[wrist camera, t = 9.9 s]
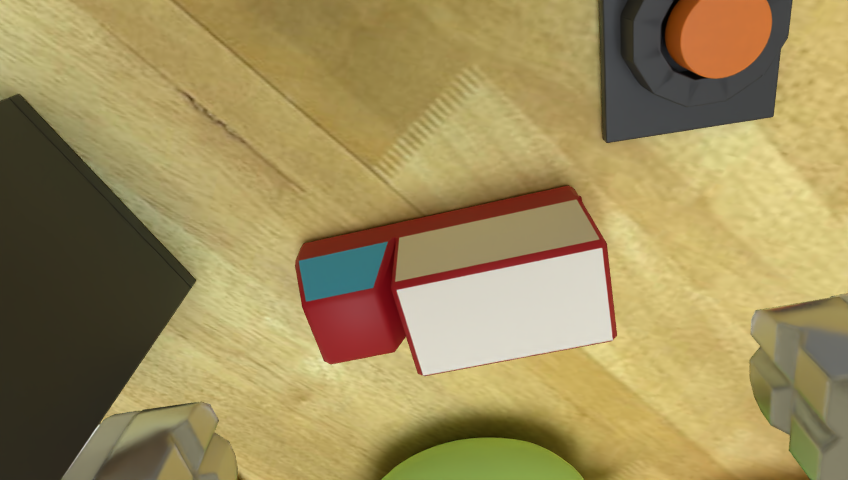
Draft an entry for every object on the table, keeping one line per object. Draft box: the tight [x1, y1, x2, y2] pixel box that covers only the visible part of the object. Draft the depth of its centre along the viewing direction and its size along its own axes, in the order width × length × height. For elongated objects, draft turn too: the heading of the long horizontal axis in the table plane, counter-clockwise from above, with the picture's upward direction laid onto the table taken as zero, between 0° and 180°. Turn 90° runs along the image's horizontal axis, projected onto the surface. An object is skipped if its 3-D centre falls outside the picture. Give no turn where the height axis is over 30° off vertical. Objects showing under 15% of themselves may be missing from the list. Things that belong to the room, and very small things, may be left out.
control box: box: [599, 0, 792, 143], centre depth 26 cm, size 10×8×2 cm
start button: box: [665, 0, 772, 79], centre depth 24 cm, size 4×4×2 cm
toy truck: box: [295, 185, 617, 376], centre depth 29 cm, size 6×15×7 cm, turn 104°
